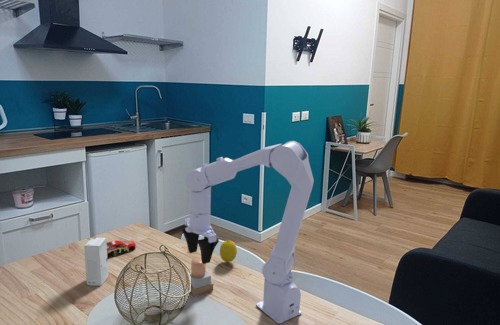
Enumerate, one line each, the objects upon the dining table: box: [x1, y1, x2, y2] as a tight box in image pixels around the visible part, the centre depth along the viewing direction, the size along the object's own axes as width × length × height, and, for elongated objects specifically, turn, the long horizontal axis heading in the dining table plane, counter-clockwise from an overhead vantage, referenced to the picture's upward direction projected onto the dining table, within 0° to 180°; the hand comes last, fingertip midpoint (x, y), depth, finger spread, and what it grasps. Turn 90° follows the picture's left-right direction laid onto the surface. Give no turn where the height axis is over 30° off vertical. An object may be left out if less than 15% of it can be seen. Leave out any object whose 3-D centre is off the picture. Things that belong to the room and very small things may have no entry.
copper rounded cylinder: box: [190, 257, 207, 278], centre depth 103 cm, size 4×4×4 cm
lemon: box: [219, 239, 238, 264], centre depth 120 cm, size 6×6×8 cm
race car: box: [106, 239, 137, 259], centre depth 124 cm, size 13×5×4 cm, turn 132°
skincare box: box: [83, 237, 109, 287], centre depth 105 cm, size 6×4×12 cm
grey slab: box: [189, 271, 212, 289], centre depth 104 cm, size 5×5×2 cm
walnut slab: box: [189, 281, 214, 298], centre depth 104 cm, size 6×6×2 cm
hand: (199, 257), depth 103 cm, fingers open, 7 cm apart
